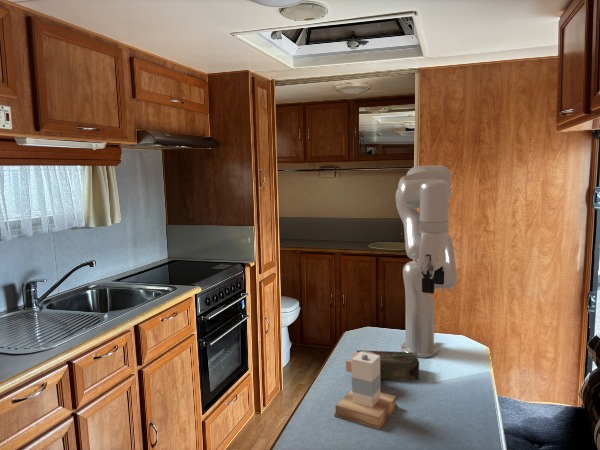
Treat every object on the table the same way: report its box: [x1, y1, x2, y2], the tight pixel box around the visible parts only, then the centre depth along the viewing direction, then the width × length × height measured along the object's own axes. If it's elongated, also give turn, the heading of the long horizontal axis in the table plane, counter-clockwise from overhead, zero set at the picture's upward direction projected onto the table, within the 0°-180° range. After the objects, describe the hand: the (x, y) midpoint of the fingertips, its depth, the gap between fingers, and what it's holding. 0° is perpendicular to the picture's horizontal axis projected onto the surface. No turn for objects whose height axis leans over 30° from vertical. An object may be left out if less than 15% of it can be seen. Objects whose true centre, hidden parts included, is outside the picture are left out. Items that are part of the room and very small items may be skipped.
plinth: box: [333, 389, 398, 430], centre depth 125 cm, size 13×13×3 cm
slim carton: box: [351, 352, 382, 408], centre depth 124 cm, size 6×6×13 cm
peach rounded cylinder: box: [345, 350, 377, 373], centre depth 139 cm, size 8×10×9 cm
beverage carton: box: [356, 349, 420, 381], centre depth 146 cm, size 8×19×7 cm, turn 83°
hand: (433, 288), depth 131 cm, fingers open, 9 cm apart
